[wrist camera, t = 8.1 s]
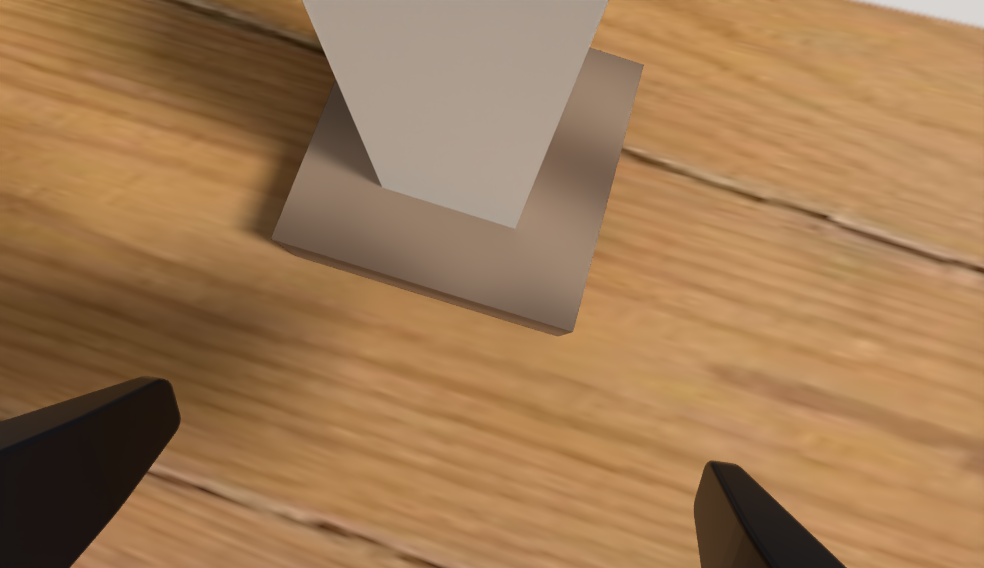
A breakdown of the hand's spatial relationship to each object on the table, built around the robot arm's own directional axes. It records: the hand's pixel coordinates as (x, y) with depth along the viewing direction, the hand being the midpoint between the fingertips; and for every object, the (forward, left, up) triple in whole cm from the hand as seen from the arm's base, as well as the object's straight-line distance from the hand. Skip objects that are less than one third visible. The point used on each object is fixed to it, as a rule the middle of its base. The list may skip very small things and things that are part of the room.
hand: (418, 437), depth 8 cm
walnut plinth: (+5, +8, -11) cm, 14 cm away
